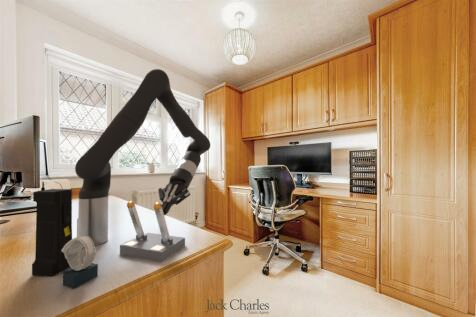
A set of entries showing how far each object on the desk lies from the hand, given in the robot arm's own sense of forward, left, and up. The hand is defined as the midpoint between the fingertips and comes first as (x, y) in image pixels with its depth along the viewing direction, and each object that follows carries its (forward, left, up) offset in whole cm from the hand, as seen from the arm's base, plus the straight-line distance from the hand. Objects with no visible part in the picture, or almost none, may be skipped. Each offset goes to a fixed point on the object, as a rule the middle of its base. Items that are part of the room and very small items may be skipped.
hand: (162, 213), depth 63 cm
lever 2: (0, +2, -10) cm, 10 cm away
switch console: (-6, +2, -13) cm, 15 cm away
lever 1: (-11, +2, -10) cm, 15 cm away
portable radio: (-23, -17, -14) cm, 31 cm away
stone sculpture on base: (-11, -18, -14) cm, 25 cm away
